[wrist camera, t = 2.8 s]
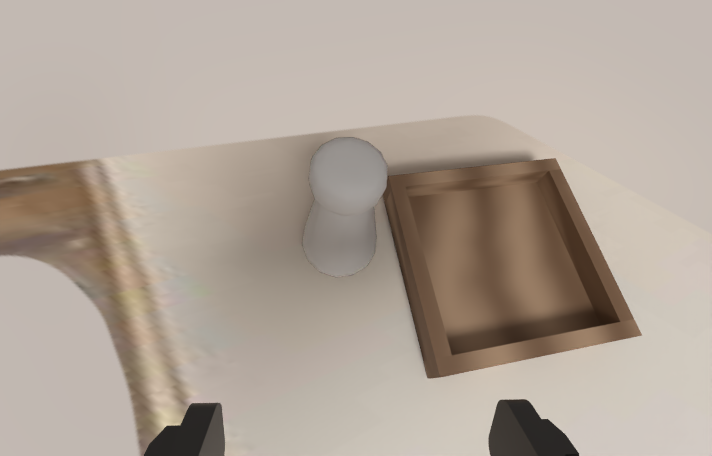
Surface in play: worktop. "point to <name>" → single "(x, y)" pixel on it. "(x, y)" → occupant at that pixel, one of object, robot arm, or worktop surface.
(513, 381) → the worktop surface
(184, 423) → the robot arm
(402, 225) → the walnut tray
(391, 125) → the worktop surface
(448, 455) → the worktop surface
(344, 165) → the salt shaker
